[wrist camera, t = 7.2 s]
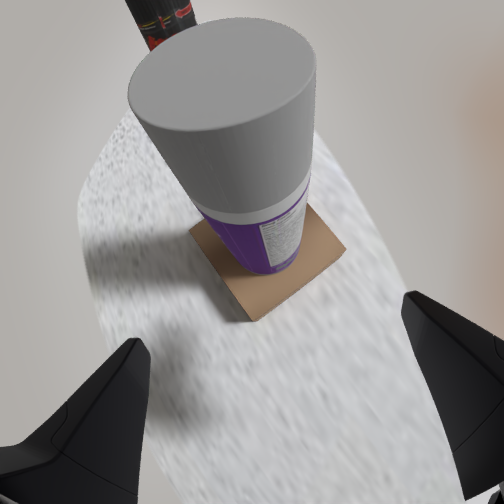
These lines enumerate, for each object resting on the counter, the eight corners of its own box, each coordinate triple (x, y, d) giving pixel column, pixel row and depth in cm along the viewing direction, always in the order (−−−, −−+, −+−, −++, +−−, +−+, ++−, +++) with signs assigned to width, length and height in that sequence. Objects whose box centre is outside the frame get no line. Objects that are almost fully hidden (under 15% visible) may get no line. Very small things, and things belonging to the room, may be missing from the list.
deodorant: (156, 73, 29) (110, -15, 15) (194, 50, 30) (161, -40, 15) (177, 91, 28) (128, -13, 13) (219, 65, 28) (188, -39, 14)
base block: (340, 257, 21) (346, 249, 19) (256, 321, 21) (252, 321, 19) (277, 183, 23) (275, 168, 21) (198, 239, 23) (188, 230, 21)
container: (218, 244, 20) (94, 90, 6) (264, 198, 21) (224, 4, 6) (267, 290, 19) (205, 181, 4) (314, 239, 19) (361, 54, 5)
